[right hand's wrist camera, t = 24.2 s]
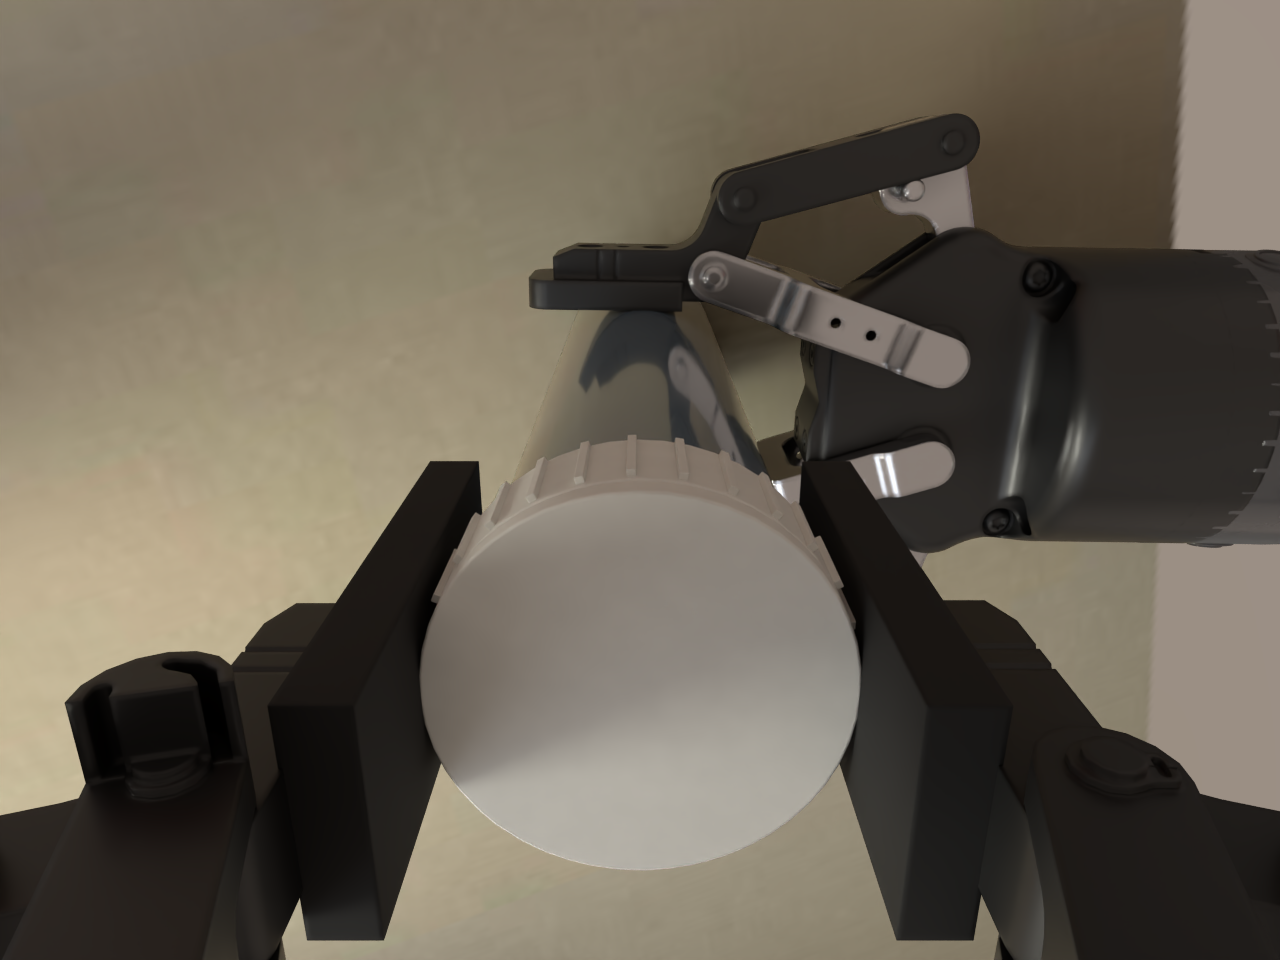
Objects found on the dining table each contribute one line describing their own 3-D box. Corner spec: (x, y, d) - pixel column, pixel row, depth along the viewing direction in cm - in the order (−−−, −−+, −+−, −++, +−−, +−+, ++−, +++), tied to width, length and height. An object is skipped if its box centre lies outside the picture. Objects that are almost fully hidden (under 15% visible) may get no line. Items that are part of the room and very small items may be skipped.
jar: (624, 240, 28) (595, 408, 10) (738, 323, 29) (900, 616, 11) (545, 355, 30) (392, 689, 11) (656, 431, 31) (680, 854, 12)
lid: (402, 464, 11) (359, 521, 9) (818, 403, 11) (852, 451, 9) (490, 800, 13) (466, 898, 11) (849, 754, 13) (881, 849, 11)
